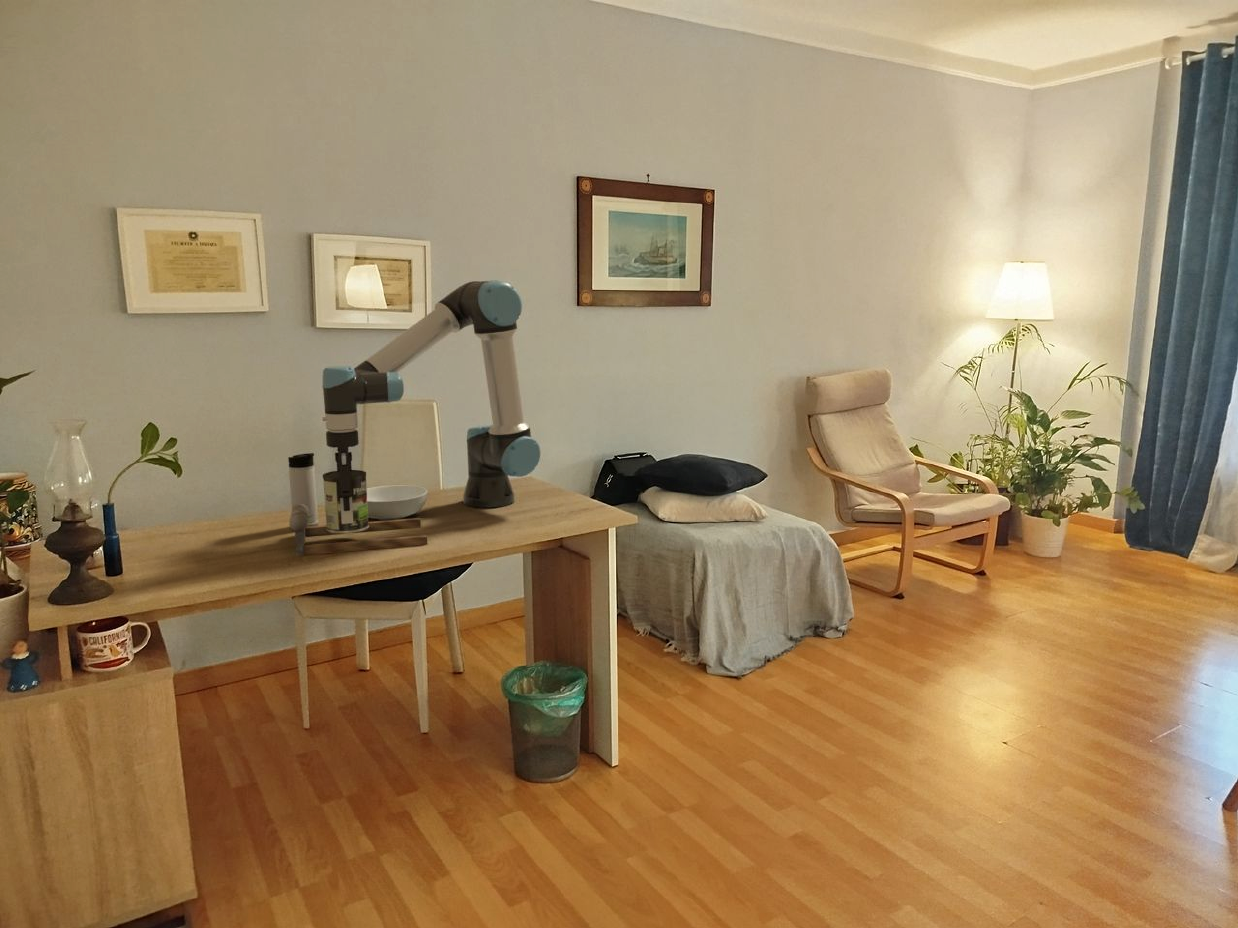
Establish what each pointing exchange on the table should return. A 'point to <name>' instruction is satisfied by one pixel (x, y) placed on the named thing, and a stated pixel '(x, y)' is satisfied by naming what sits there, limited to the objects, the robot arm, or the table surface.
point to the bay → (299, 526)
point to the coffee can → (334, 502)
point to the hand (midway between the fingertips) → (347, 517)
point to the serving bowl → (395, 501)
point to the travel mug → (304, 485)
